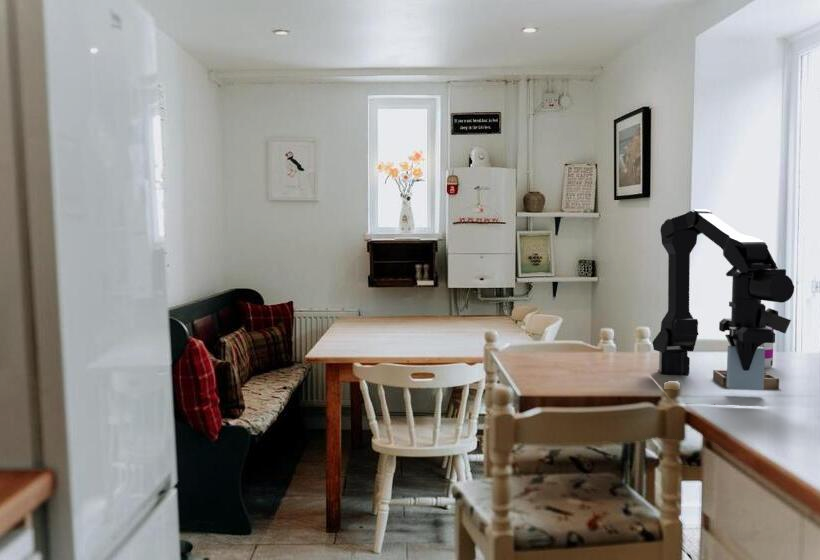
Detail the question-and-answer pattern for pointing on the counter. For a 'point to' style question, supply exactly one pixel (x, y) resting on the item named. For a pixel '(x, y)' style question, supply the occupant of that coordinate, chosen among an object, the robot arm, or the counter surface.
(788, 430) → the counter surface
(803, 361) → the counter surface
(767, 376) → the rack
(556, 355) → the counter surface
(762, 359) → the board
